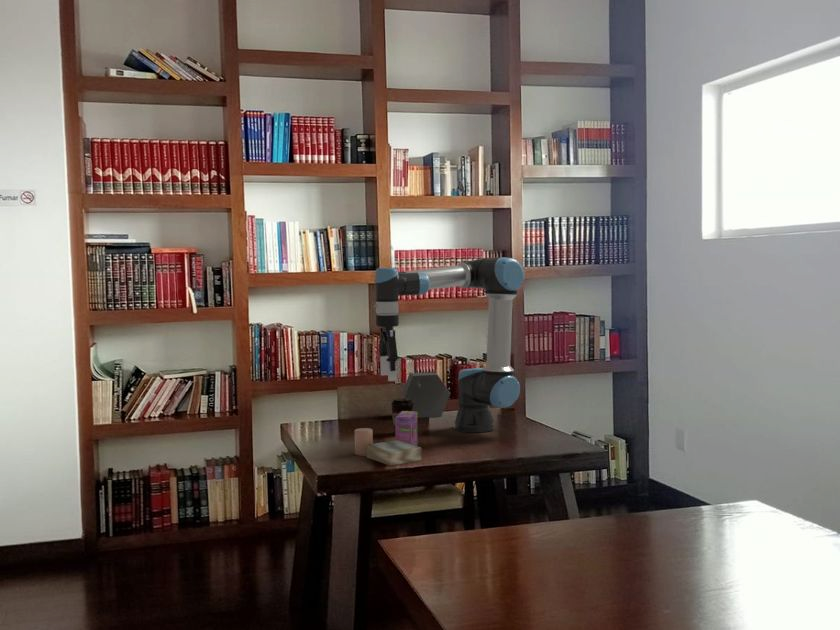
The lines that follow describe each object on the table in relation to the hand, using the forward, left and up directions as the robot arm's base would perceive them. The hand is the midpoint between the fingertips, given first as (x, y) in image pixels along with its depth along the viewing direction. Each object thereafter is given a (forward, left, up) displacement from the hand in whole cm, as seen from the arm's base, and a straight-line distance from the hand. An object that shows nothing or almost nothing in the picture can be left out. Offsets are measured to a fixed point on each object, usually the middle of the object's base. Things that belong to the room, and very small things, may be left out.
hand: (388, 378), depth 274 cm
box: (-9, -3, -26) cm, 27 cm away
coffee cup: (-21, -23, -25) cm, 40 cm away
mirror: (+3, +7, -25) cm, 26 cm away
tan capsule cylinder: (+7, -5, -25) cm, 27 cm away
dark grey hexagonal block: (-48, -46, -26) cm, 71 cm away
